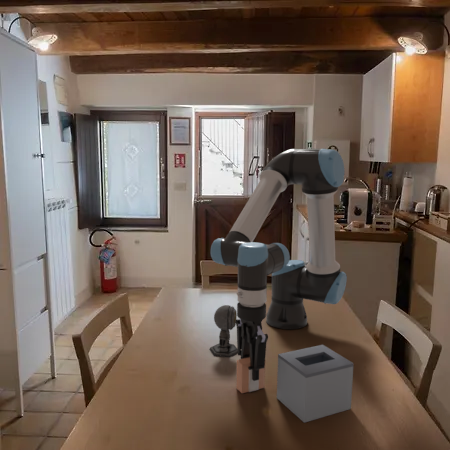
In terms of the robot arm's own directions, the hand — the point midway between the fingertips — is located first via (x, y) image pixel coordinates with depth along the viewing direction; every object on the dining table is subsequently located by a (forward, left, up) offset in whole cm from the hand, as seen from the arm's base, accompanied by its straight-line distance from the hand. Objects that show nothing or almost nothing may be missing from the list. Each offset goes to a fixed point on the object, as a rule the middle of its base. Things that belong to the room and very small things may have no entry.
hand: (250, 386), depth 122 cm
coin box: (-11, +13, -1) cm, 17 cm away
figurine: (-4, -24, -1) cm, 24 cm away
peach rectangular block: (0, 0, 0) cm, 0 cm away
